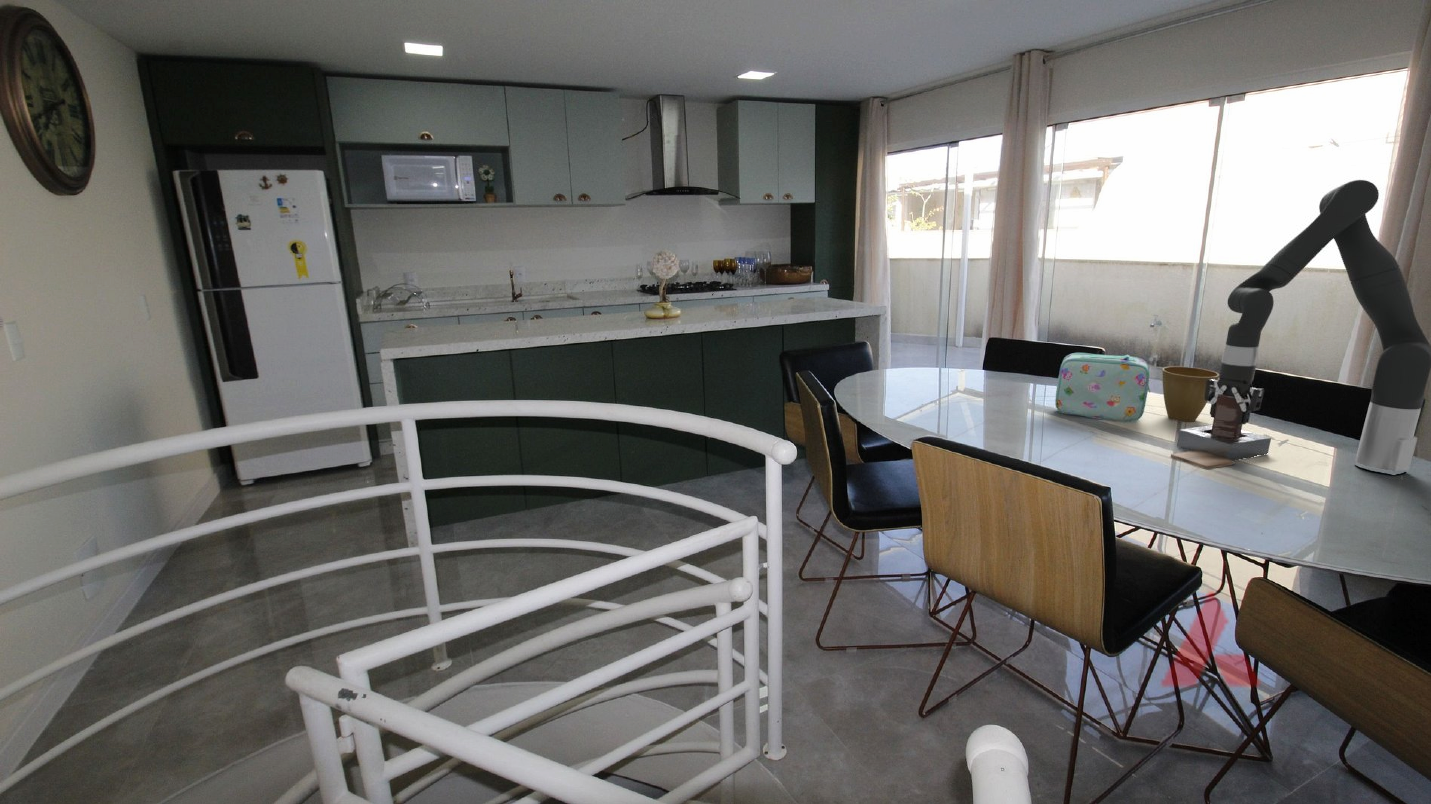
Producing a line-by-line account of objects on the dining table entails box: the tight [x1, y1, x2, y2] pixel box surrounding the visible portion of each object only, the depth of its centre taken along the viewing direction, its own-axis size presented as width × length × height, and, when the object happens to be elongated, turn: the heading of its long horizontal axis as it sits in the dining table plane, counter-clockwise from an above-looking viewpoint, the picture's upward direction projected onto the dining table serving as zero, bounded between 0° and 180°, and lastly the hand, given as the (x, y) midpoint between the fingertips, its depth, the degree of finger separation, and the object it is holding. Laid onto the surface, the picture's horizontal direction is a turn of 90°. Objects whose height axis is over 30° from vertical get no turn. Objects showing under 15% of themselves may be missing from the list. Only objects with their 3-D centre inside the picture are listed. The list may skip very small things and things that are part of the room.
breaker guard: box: [1176, 424, 1272, 462], centre depth 187 cm, size 14×16×5 cm
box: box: [1211, 394, 1246, 439], centre depth 185 cm, size 6×4×12 cm
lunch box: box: [1054, 352, 1151, 422], centre depth 219 cm, size 27×10×21 cm, turn 59°
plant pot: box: [1162, 365, 1220, 423], centre depth 216 cm, size 15×15×16 cm
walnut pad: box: [1170, 450, 1235, 470], centre depth 180 cm, size 10×10×1 cm
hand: (1228, 420), depth 185 cm, fingers closed on box, 7 cm apart
